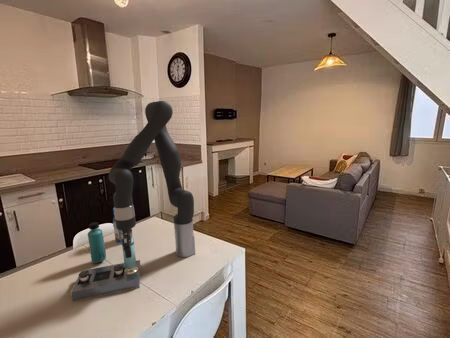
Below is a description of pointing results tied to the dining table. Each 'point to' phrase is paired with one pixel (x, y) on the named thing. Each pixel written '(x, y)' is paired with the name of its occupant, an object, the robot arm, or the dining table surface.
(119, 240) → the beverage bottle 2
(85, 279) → the plunger
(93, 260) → the beverage bottle
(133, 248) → the cylinder
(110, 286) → the housing
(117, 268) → the plunger
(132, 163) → the robot arm
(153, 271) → the dining table surface
